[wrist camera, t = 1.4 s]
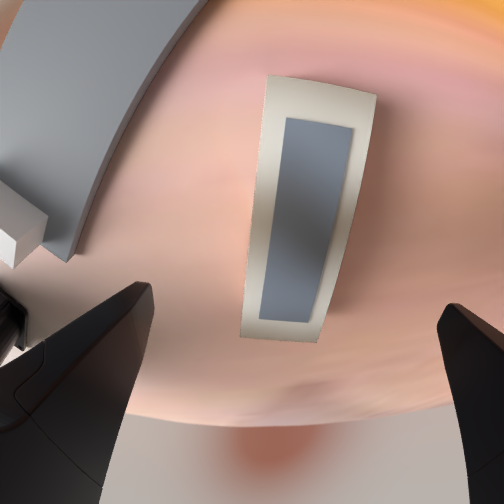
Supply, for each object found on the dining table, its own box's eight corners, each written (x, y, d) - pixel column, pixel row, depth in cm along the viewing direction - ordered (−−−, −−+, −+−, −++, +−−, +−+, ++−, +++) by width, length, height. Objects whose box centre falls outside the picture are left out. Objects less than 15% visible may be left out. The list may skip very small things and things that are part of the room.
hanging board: (74, 254, 16) (39, 293, 13) (-24, 180, 14) (-62, 202, 10) (252, -49, 8) (248, -90, 5) (101, -88, 6) (67, -113, 2)
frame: (310, 306, 18) (316, 344, 15) (243, 300, 18) (239, 339, 15) (354, 93, 12) (378, 95, 9) (266, 79, 12) (267, 74, 9)
